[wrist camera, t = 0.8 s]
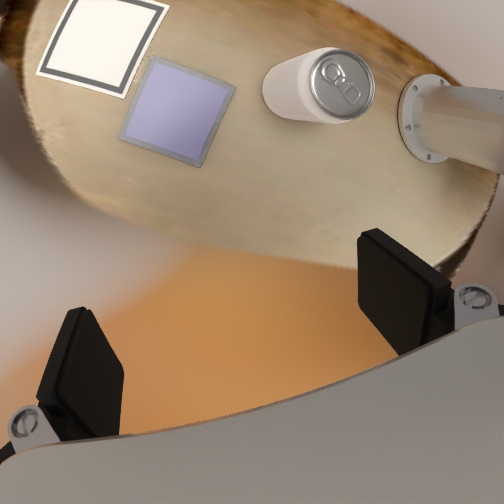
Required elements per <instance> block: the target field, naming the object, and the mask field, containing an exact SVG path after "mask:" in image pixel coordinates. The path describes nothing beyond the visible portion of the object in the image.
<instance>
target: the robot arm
mask: <svg viewBox="0 0 504 504" xmlns="http://www.w3.org/2000/svg"><path fill="white" fill-rule="evenodd" d="M398 122H399V128H400V132H401V135H402V138H403V141H404V143H405V144H406V146H407V148H408V149H409V151H410V152H411V153H412V154H413V155H414V156H415V157H416V158H418V159H420V160H422V161H424V162H427V163H433V164H436V163H441V162H443V161H445V160H447V159H448V158H449V157H450V158H453V159H457V160H460V161H463V162H466V163H469V164H473V165H476V166H479V167H482V168H485V169H488V170H490V171H493V172H496V173H499V174H502V175H504V90H496V89H487V88H475V87H463V86H451V84H450V83H449V82H448V81H446V80H445V79H444V78H442V77H440V76H438V75H434V74H422V75H418V76H416V77H414V78H413V79H412V80H411V81H410V82H408V84H407V85H406V87H405V88H404V90H403V92H402V95H401V98H400V102H399V108H398ZM357 256H358V303H359V307H360V309H361V310H362V311H363V313H364V314H365V315H366V316H367V317H368V318H369V319H370V321H371V322H372V323H373V324H374V326H375V327H376V328H377V329H378V330H379V332H380V333H381V334H382V335H383V337H384V338H385V339H386V340H387V341H388V343H389V344H390V345H391V346H392V348H393V349H394V350H395V351H396V352H397V354H398V355H399V357H396V358H394V359H391V360H389V361H387V362H384V363H382V364H380V365H377V366H375V367H373V368H371V369H368V370H365V371H363V372H360V373H358V374H355V375H353V376H350V377H348V378H345V379H342V380H339V381H337V382H334V383H331V384H328V385H326V386H323V387H320V388H317V389H314V390H311V391H308V392H305V393H302V394H299V395H296V396H293V397H290V398H287V399H283V400H280V401H277V402H273V403H270V404H267V405H263V406H259V407H256V408H252V409H249V410H245V411H241V412H237V413H233V414H229V415H225V416H221V417H217V418H212V419H208V420H203V421H199V422H194V423H189V424H184V425H179V426H175V427H169V428H163V429H158V430H151V431H145V432H138V433H131V434H124V435H119V427H120V413H121V401H122V391H123V381H124V370H123V367H122V365H121V363H120V361H119V360H118V358H117V356H116V355H115V353H114V351H113V349H112V348H111V346H110V344H109V342H108V341H107V339H106V337H105V335H104V333H103V331H102V330H101V328H100V326H99V324H98V322H97V320H96V318H95V316H94V315H93V313H92V311H91V310H89V309H88V310H87V309H86V308H85V307H79V308H75V309H71V310H69V311H68V312H67V315H66V317H65V319H64V322H63V324H62V327H61V329H60V331H59V334H58V336H57V339H56V342H55V344H54V347H53V349H52V352H51V354H50V357H49V360H48V363H47V365H46V368H45V371H44V374H43V377H42V380H41V383H40V386H39V389H38V392H37V395H36V398H37V399H38V400H39V403H38V406H35V405H27V406H24V407H22V408H20V409H19V410H17V411H16V412H15V413H14V415H13V416H12V417H11V419H10V421H9V424H8V435H9V438H10V440H11V441H10V442H8V443H7V444H6V445H5V446H4V447H3V448H2V449H0V504H504V305H498V304H497V300H496V297H495V295H494V293H493V292H492V291H491V290H489V289H488V288H486V287H484V286H482V285H479V284H464V285H461V286H460V287H458V288H457V289H456V290H455V291H454V290H453V289H452V288H451V284H452V282H451V281H450V280H448V279H447V278H446V277H444V276H443V275H442V274H440V273H439V272H438V271H437V270H435V269H434V268H433V267H431V266H430V265H429V264H427V263H426V262H425V261H423V260H422V259H420V258H419V257H418V256H416V255H415V254H414V253H412V252H411V251H409V250H408V249H407V248H405V247H404V246H403V245H401V244H400V243H398V242H397V241H395V240H394V239H393V238H391V237H390V236H388V235H387V234H385V233H384V232H383V231H381V230H380V229H378V228H375V229H371V230H368V231H364V232H362V233H361V236H360V237H358V239H357Z"/></svg>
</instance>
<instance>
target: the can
mask: <svg viewBox="0 0 504 504" xmlns="http://www.w3.org/2000/svg"><path fill="white" fill-rule="evenodd" d="M262 94H263V98H264V101H265V103H266V105H267V106H268V107H269V109H270V110H271V111H272V112H274V113H275V114H276V115H278V116H280V117H283V118H286V119H293V120H302V121H312V122H321V123H331V124H339V123H345V122H348V121H350V120H352V119H355V118H357V117H359V116H361V115H363V114H364V113H365V112H366V111H367V110H368V109H369V107H370V106H371V104H372V102H373V99H374V95H375V82H374V77H373V74H372V72H371V70H370V68H369V66H368V65H367V64H366V62H365V61H364V60H363V59H362V58H361V57H359V56H358V55H356V54H355V53H353V52H350V51H348V50H343V49H338V48H321V49H317V50H314V51H311V52H308V53H305V54H303V55H300V56H297V57H295V58H292V59H290V60H287V61H285V62H282V63H280V64H278V65H276V66H274V67H273V68H272V69H271V70H270V71H269V72H268V73H267V75H266V76H265V78H264V81H263V85H262Z"/></svg>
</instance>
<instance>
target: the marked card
mask: <svg viewBox="0 0 504 504" xmlns="http://www.w3.org/2000/svg"><path fill="white" fill-rule="evenodd" d="M169 8H170V6H169V5H165V4H162V3H159V2H155V1H152V0H70V2H69V3H68V5H67V7H66V9H65V11H64V13H63V14H62V16H61V18H60V20H59V22H58V24H57V26H56V28H55V30H54V32H53V35H52V37H51V39H50V41H49V43H48V45H47V48H46V50H45V52H44V55H43V57H42V59H41V62H40V64H39V67H38V69H37V72H36V74H35V75H39V76H43V77H47V78H51V79H55V80H59V81H63V82H67V83H71V84H74V85H78V86H82V87H85V88H89V89H92V90H96V91H99V92H103V93H106V94H109V95H112V96H116V97H119V98H122V99H125V97H126V94H127V92H128V90H129V87H130V85H131V83H132V81H133V78H134V76H135V74H136V72H137V69H138V67H139V65H140V63H141V61H142V59H143V57H144V55H145V53H146V51H147V49H148V47H149V45H150V43H151V41H152V39H153V37H154V35H155V33H156V31H157V29H158V27H159V26H160V24H161V22H162V20H163V18H164V16H165V15H166V13H167V11H168V9H169Z"/></svg>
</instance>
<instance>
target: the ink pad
mask: <svg viewBox="0 0 504 504" xmlns="http://www.w3.org/2000/svg"><path fill="white" fill-rule="evenodd" d="M235 89H236V87H234V86H232V85H230V84H227V83H225V82H223V81H220V80H218V79H215V78H213V77H210V76H208V75H205V74H203V73H200V72H198V71H195V70H192V69H190V68H187V67H184V66H182V65H179V64H176V63H173V62H170V61H167V60H164V59H162V58H159V57H156V56H152V59H151V61H150V63H149V65H148V67H147V69H146V71H145V73H144V76H143V78H142V80H141V82H140V84H139V87H138V89H137V91H136V94H135V96H134V98H133V101H132V103H131V106H130V108H129V110H128V113H127V115H126V118H125V121H124V123H123V126H122V128H121V131H120V134H119V136H118V139H119V140H122V141H125V142H128V143H131V144H134V145H137V146H140V147H143V148H146V149H149V150H152V151H155V152H158V153H160V154H163V155H166V156H169V157H172V158H174V159H177V160H180V161H183V162H186V163H188V164H191V165H194V166H196V167H199V168H200V167H201V165H202V163H203V160H204V158H205V155H206V153H207V151H208V148H209V146H210V144H211V142H212V139H213V137H214V135H215V132H216V130H217V128H218V126H219V123H220V121H221V119H222V117H223V115H224V112H225V110H226V108H227V106H228V104H229V102H230V100H231V97H232V95H233V93H234V91H235Z"/></svg>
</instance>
